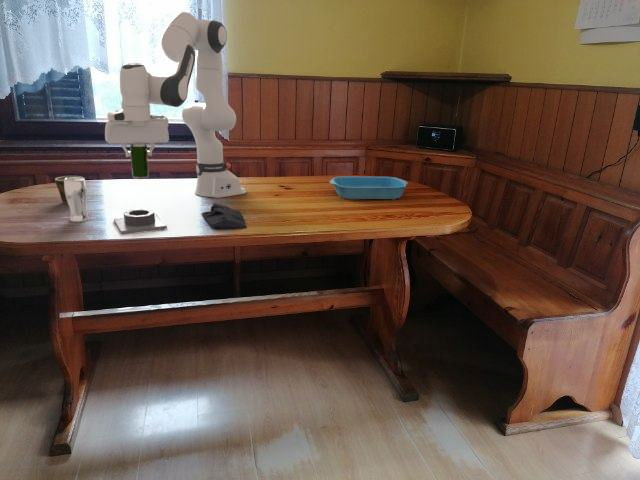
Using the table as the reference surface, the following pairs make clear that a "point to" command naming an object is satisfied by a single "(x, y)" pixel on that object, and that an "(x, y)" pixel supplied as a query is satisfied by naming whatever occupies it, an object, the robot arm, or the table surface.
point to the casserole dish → (368, 187)
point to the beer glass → (76, 198)
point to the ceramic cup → (62, 187)
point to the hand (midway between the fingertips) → (139, 156)
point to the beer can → (139, 160)
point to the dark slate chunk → (224, 217)
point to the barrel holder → (139, 221)
